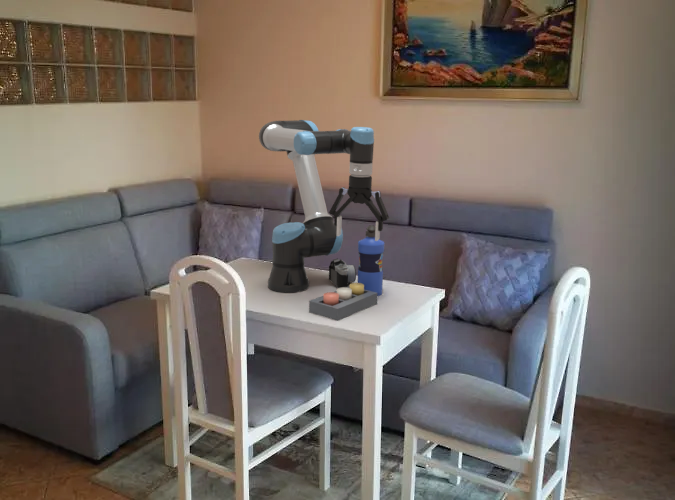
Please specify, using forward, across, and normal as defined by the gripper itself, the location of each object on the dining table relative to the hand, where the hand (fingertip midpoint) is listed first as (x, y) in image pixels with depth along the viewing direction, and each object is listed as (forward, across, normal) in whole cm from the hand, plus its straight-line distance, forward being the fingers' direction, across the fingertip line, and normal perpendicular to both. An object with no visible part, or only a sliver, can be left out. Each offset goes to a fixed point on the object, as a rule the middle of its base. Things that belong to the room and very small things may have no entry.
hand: (357, 237), depth 226 cm
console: (+23, -2, -7) cm, 24 cm away
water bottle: (+24, +2, +12) cm, 27 cm away
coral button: (+20, -4, -14) cm, 24 cm away
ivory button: (+20, -2, -7) cm, 21 cm away
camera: (+24, -11, +18) cm, 32 cm away
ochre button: (+20, 0, 0) cm, 20 cm away
